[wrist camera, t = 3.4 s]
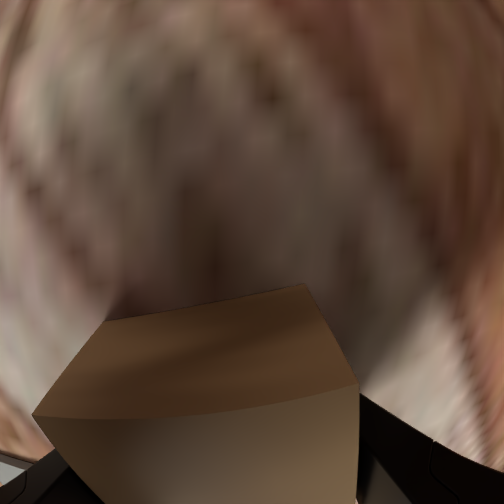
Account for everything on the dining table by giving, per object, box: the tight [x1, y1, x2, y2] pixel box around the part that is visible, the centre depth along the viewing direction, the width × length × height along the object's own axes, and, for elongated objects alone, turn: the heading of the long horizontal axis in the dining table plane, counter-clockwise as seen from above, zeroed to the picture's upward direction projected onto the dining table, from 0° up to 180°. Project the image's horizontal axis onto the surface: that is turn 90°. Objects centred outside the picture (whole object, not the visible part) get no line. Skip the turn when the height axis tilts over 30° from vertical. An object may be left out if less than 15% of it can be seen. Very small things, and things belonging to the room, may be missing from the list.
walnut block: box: [32, 284, 359, 504], centre depth 6 cm, size 6×6×4 cm
